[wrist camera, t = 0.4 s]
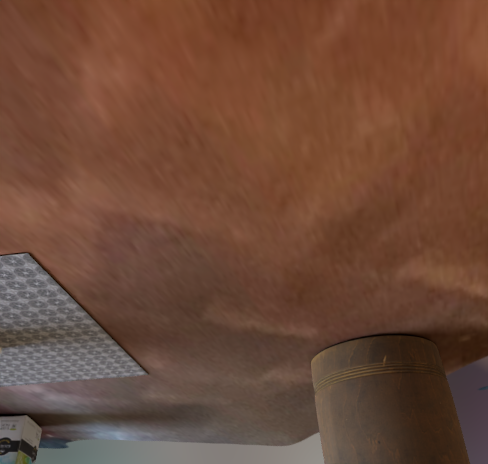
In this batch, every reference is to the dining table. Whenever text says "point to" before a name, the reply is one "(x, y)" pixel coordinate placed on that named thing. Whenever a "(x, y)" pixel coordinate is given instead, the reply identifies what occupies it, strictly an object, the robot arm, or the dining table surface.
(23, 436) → the tea box
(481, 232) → the dining table surface
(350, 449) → the wooden container
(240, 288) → the dining table surface
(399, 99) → the dining table surface
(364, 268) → the dining table surface
